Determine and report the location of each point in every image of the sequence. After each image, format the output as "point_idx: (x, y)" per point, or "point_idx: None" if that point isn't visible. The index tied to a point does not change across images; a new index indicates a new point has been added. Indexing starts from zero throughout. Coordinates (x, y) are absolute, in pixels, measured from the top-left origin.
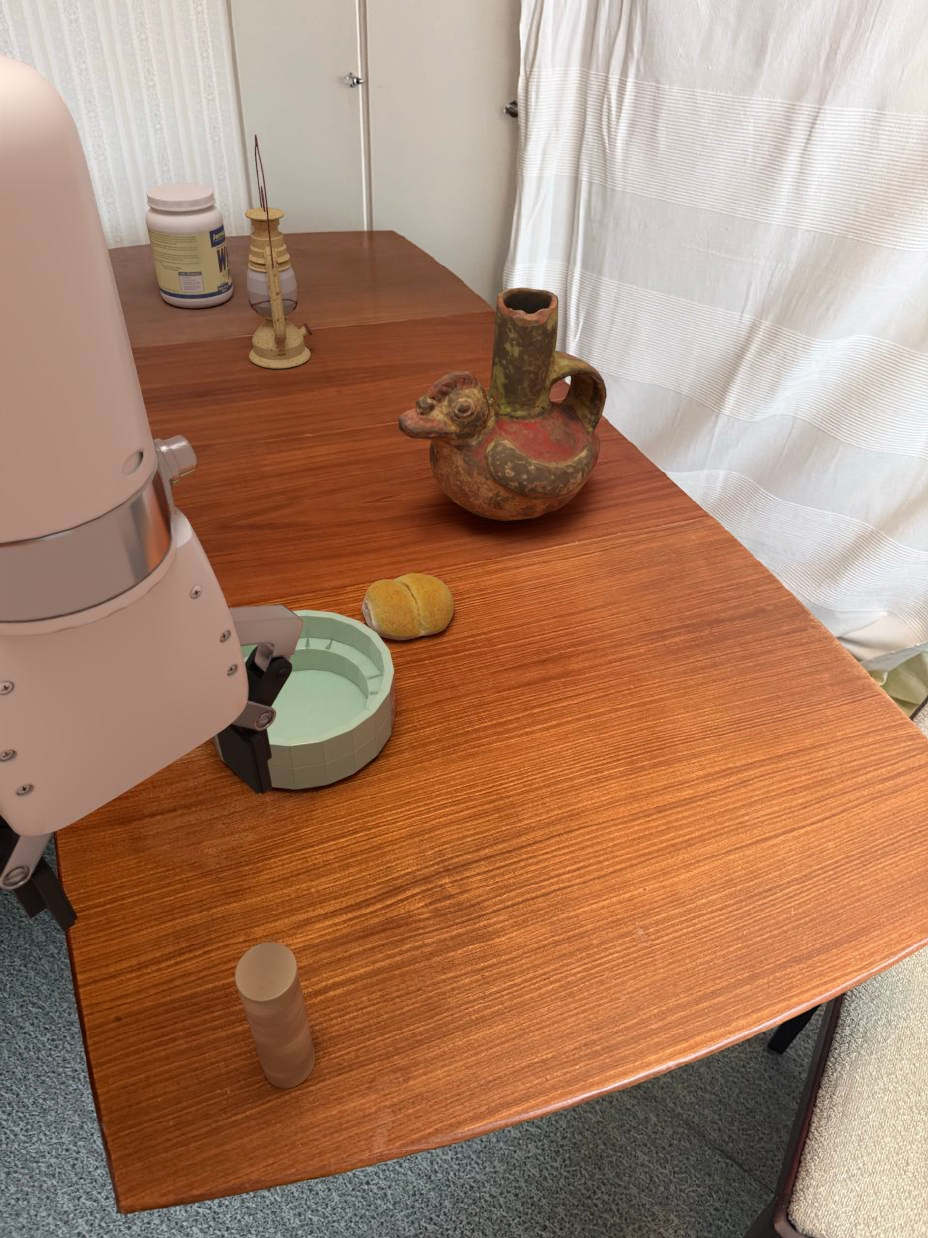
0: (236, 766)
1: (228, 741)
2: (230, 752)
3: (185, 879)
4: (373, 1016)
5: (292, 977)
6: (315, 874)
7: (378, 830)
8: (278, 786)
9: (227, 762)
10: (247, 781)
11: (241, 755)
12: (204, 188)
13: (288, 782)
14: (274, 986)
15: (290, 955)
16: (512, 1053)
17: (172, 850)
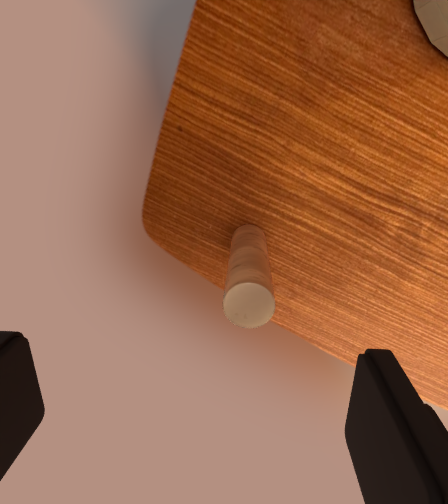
0: (360, 410)
1: (387, 468)
2: (373, 430)
3: (285, 51)
4: (306, 258)
5: (260, 324)
6: (365, 138)
7: (437, 144)
8: (423, 24)
9: (360, 367)
10: (351, 419)
11: (376, 494)
12: None
13: (433, 33)
14: (245, 320)
15: (272, 310)
16: (345, 331)
17: (296, 7)
